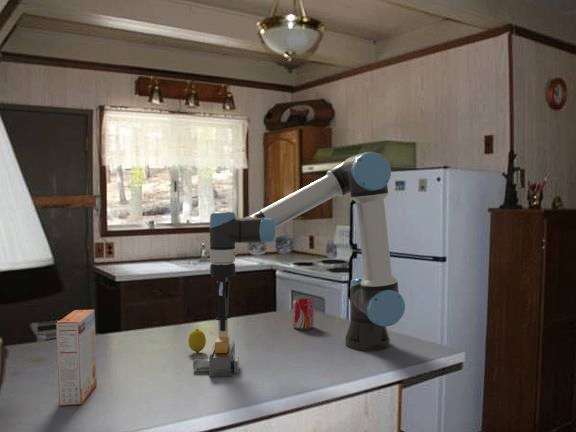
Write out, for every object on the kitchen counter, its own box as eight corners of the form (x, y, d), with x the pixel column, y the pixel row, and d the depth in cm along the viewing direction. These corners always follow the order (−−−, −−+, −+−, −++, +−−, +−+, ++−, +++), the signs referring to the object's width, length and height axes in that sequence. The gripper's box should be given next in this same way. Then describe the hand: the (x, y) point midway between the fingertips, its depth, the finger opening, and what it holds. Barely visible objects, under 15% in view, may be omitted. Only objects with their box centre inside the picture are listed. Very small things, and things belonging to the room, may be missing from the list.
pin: (239, 366, 158) (239, 355, 158) (237, 372, 152) (237, 361, 152) (195, 366, 158) (195, 355, 158) (192, 373, 152) (192, 361, 152)
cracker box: (74, 386, 143) (73, 309, 142) (97, 385, 143) (96, 308, 143) (56, 406, 129) (54, 321, 128) (81, 405, 129) (80, 321, 129)
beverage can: (290, 325, 208) (290, 295, 207) (310, 324, 210) (310, 294, 209) (295, 331, 200) (295, 299, 200) (316, 329, 202) (316, 298, 202)
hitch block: (234, 361, 164) (234, 341, 163) (230, 376, 150) (230, 354, 149) (215, 361, 164) (215, 341, 163) (209, 376, 150) (209, 354, 149)
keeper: (229, 347, 159) (229, 336, 159) (227, 353, 153) (227, 342, 153) (217, 347, 159) (217, 337, 159) (214, 353, 153) (214, 342, 153)
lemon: (202, 356, 169) (202, 331, 169) (186, 355, 170) (185, 330, 170) (208, 351, 175) (208, 327, 174) (192, 350, 176) (192, 326, 175)
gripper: (233, 265, 152) (233, 346, 153) (237, 260, 165) (237, 335, 166) (207, 265, 152) (207, 346, 153) (213, 260, 165) (213, 335, 166)
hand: (223, 340), depth 160 cm, fingers closed
